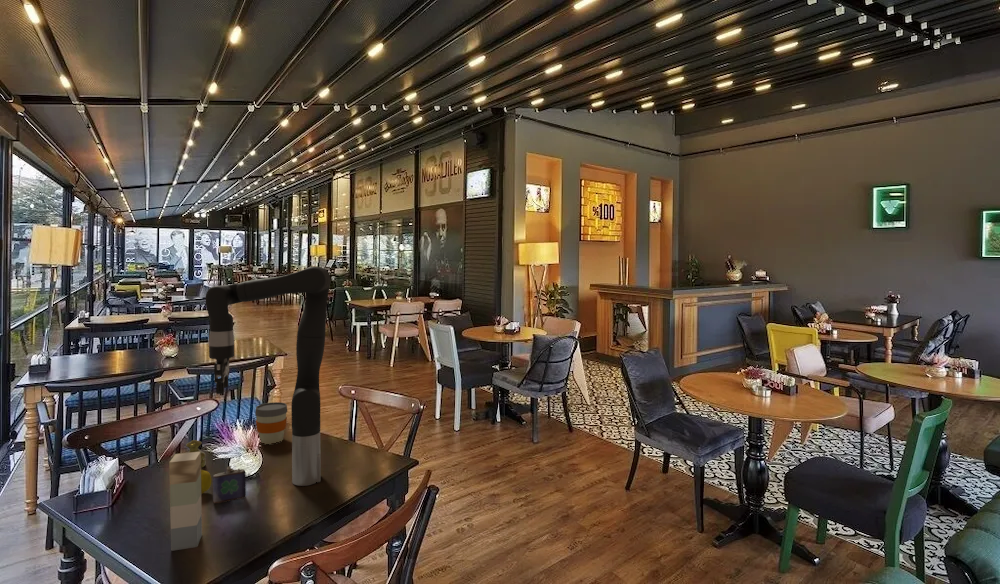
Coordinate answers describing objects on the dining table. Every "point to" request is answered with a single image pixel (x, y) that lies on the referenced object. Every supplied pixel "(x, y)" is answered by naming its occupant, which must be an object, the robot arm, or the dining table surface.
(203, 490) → the lemon
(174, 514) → the tower mid
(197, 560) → the dining table surface
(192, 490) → the tower top
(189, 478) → the maple cube
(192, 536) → the tower base
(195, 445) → the olive tiered cone
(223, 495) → the flask
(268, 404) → the reusable coffee cup
